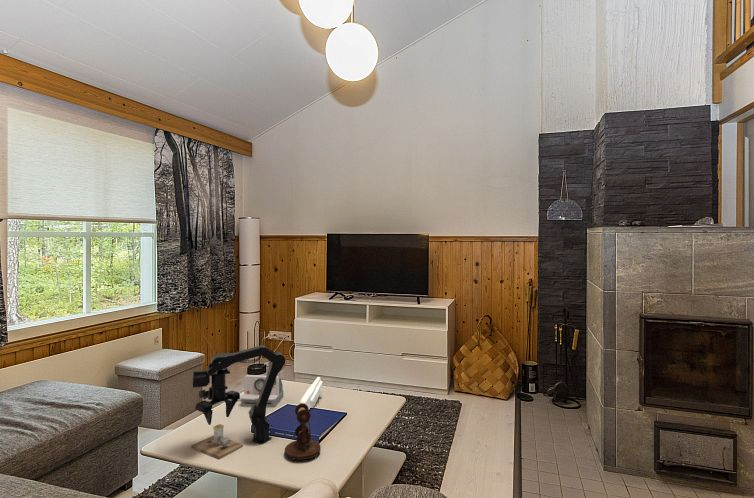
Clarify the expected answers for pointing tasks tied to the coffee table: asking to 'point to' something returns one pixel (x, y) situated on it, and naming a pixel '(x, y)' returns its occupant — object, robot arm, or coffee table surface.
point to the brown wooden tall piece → (302, 437)
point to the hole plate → (217, 447)
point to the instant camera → (254, 388)
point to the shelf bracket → (312, 393)
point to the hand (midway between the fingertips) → (218, 420)
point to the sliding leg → (218, 433)
